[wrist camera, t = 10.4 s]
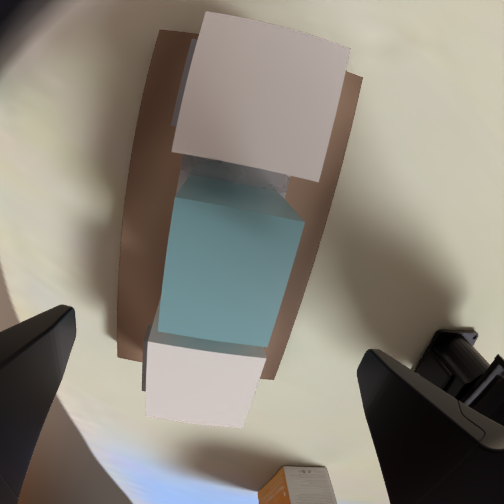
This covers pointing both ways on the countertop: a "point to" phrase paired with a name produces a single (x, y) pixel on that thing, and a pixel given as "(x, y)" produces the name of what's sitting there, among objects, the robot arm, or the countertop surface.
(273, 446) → the countertop surface
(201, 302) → the block
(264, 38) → the mounted modules
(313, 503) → the small box
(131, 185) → the rail board
